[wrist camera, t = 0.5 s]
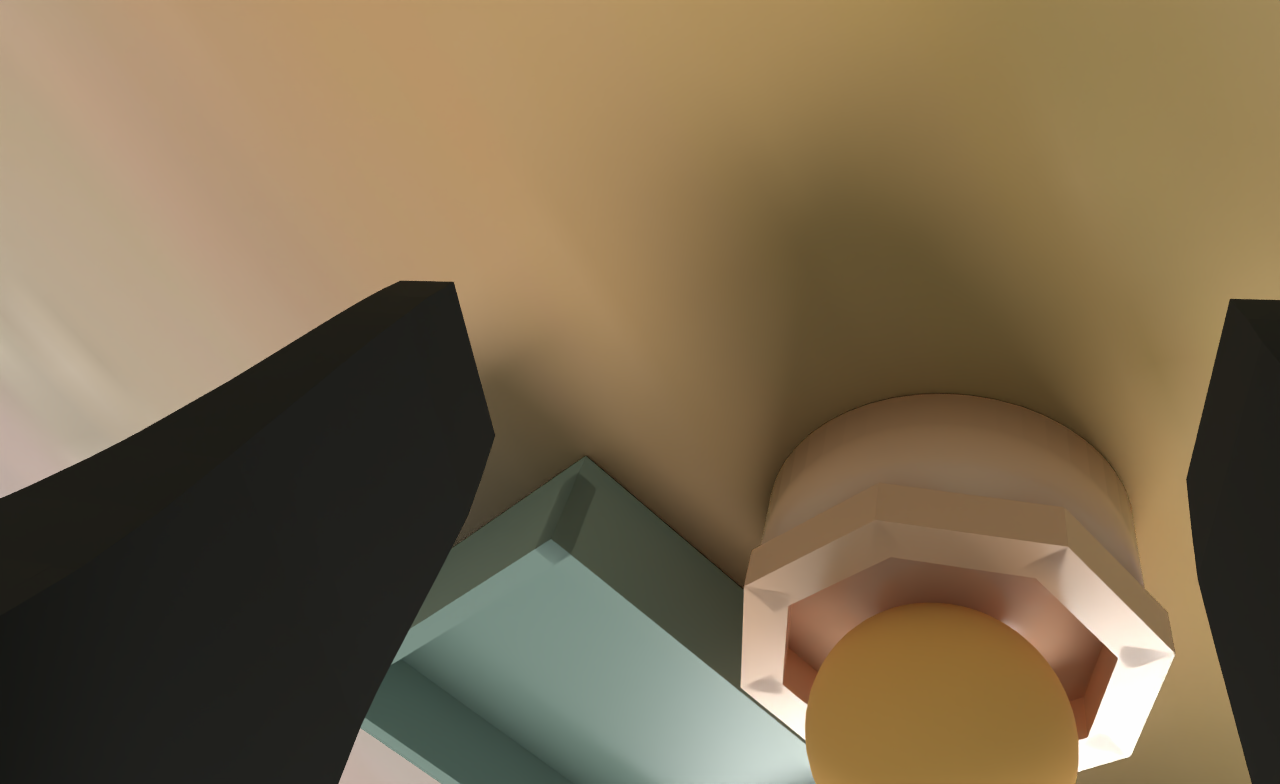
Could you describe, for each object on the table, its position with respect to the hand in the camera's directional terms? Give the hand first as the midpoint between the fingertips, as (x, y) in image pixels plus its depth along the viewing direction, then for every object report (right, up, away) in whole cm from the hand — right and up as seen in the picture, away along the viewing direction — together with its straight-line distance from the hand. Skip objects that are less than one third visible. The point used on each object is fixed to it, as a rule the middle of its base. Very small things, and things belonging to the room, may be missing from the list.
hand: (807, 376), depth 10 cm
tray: (-1, -9, +21) cm, 23 cm away
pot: (+5, -3, +14) cm, 15 cm away
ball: (+5, -5, +12) cm, 14 cm away
